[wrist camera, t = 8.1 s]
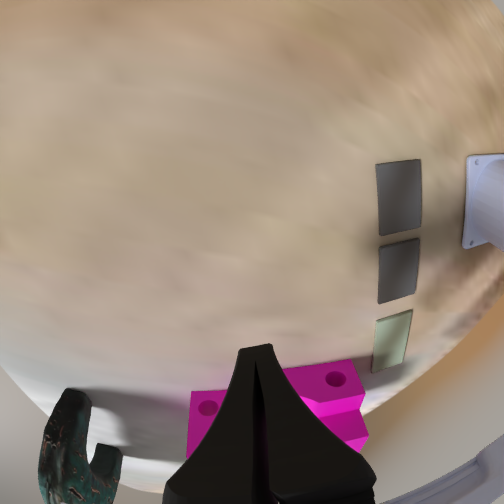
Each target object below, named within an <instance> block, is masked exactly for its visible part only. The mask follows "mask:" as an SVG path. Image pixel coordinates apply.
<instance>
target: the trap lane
mask: <svg viewBox="0 0 504 504" xmlns="http://www.w3.org/2000/svg"><path fill="white" fill-rule="evenodd" d="M375 165H376V177H377V192H378V212H379V235H380V236H384V235H389V234H393V233H397V232H402V231H406V230H410V229H414V228H419V227H420V224H421V173H420V160H418V159H415V160H406V161H398V162H390V163H382V164H375ZM419 244H420V239H419V238H415V239H411V240H407V241H403V242H399V243H395V244H390V245H386V246H382V247H379V283H378V304H382V303H386V302H389V301H392V300H395V299H399V298H402V297H405V296H408V295H411V294H414V293H415V287H416V278H417V269H418V258H419ZM411 315H412V311H411V310H408V311H405V312H402V313H399V314H396V315H393V316H390V317H387V318H383V319H380V320H377V321H376V330H375V340H374V349H373V358H372V366H371V373H374V372H377V371H380V370H383V369H386V368H389V367H392V366H395V365H397V364H400V363H402V360H403V356H404V351H405V347H406V342H407V337H408V332H409V326H410V321H411Z"/></svg>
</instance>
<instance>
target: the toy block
mask: <svg viewBox="0 0 504 504" xmlns="http://www.w3.org/2000/svg"><path fill="white" fill-rule="evenodd" d="M282 370H283V372H284V374H285V375H286V377H287V379H288V380H289V382H290V383H291V385H292V386H293V388H294V389H295V391H296V392H297V393H298V395H299V396H300V398H301V399H302V400H303V401H304V403H305V404H306V405H307V406H308V407H309V409H310V410H311V411H312V412H313V413H314V414H315V415H316V416H317V418H318V419H319V420H320V421H321V422H322V423H323V424H324V425H326V426H327V427H328V428H329V429H330V430H331V431H332V432H333V433H334V434H335V435H336V436H337V437H339V438H340V439H341V440H342V441H343V442H345V443H346V444H347V445H349V446H350V447H351V448H352V449H354V450H355V451H357V452H358V453H359V452H360V450H361V448H362V447H363V445H364V443H365V442H366V440H367V438H368V436H369V434H368V431H367V429H366V426H365V423H364V421H363V418H362V415H361V413H360V410H359V409H360V406H361V404H362V401H363V399H364V396H365V394H366V393H365V391H364V389H363V386H362V384H361V381H360V379H359V377H358V375H357V372H356V370H355V368H354V365H353V363H352V361H351V359H347V360H342V361H336V362H330V363H324V364H317V365H310V366H303V367H295V368H287V369H282ZM226 392H227V390H221V391H191V400H190V412H189V424H188V438H187V453H186V458H187V459H188V458H189V457H190V455H191V454H192V453H193V451H194V450H195V449H196V448H197V446H198V445H199V443H200V442H201V440H202V439H203V437H204V436H205V434H206V433H207V431H208V429H209V428H210V426H211V424H212V422H213V421H214V419H215V417H216V415H217V413H218V411H219V409H220V407H221V404H222V402H223V400H224V397H225V395H226Z"/></svg>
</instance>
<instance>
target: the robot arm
mask: <svg viewBox="0 0 504 504" xmlns="http://www.w3.org/2000/svg"><path fill="white" fill-rule="evenodd" d="M475 161H476V163H475ZM487 242H490V243H491V244H493V245H494V246H496V247H497V248H499V249H500V250H502V251H503V252H504V154H486V155H470V156H469V157H468V158H467V186H466V207H465V220H464V231H463V240H462V247H463V248H465V249H469V248H472V247H475V246H478V245H481V244H484V243H487ZM376 479H377V478H376V475H375V473H374V471H373V470H372V468H371V466H370V465H369V464H368V463H367V461H366V460H365V459H364V458H363V456H362V455H361V454H359V453H358V452H357V451H355V450H354V449H352V448H351V447H350V446H349V445H347V444H346V443H345V442H343V441H342V440H341V439H340V438H339V437H337V436H336V435H335V434H334V433H333V432H332V431H331V430H330V429H329V428H328V427H327V426H326V425H324V424H323V423H322V422H321V421H320V420H319V419H318V418H317V416H316V415H315V414H314V413H313V412H312V411H311V410H310V409H309V407H308V406H307V405H306V404H305V403H304V401H303V400H302V399H301V398H300V396H299V395H298V393H297V392H296V391H295V389H294V388H293V386H292V385H291V383H290V382H289V380H288V379H287V377H286V375H285V374H284V372H283V370H282V368H281V366H280V364H279V362H278V360H277V358H276V356H275V353H274V350H273V345H272V344H270V343H268V344H263V345H258V346H253V347H247V348H242V349H240V350H239V351H238V356H237V361H236V365H235V369H234V372H233V375H232V378H231V381H230V384H229V387H228V390H227V392H226V395H225V397H224V400H223V402H222V404H221V407H220V409H219V411H218V413H217V415H216V417H215V419H214V421H213V422H212V424H211V426H210V428H209V429H208V431H207V433H206V434H205V436H204V437H203V439H202V440H201V442H200V443H199V445H198V446H197V448H196V449H195V450H194V451H193V453H192V454H191V455H190V457H189V458H188V459H187V460H186V462H185V463H184V464H183V465H182V466H181V467H180V468H179V469H178V470H177V471H176V473H175V474H174V475H173V476H172V477H171V478H170V479H169V480H168V481H167V482H166V485H165V489H164V493H163V502H162V504H278V502H279V504H375V500H374V491H373V488H372V487H373V485H374V483H375V482H376ZM502 494H504V434H503V435H502V436H501V437H499V438H498V439H496V440H495V441H494V442H492V443H491V444H489V445H488V446H487V447H485V448H484V449H483V450H482V451H480V452H479V453H478V454H477V455H476V457H475V458H473V459H471V460H470V461H468V462H467V463H465V464H463V465H462V466H460V467H458V468H457V469H455V470H453V471H451V472H450V473H447V474H446V475H444V476H442V477H440V478H438V479H436V480H434V481H432V482H430V483H428V484H426V485H424V486H422V487H420V488H417V489H415V490H413V491H411V492H408V493H406V494H404V495H401V496H399V497H396V498H394V499H392V500H389V501H386V502H383V503H380V504H490V503H492V502H493V501H494V500H496V499H497V498H498V497H500V496H501V495H502ZM61 504H66V503H63V502H61Z"/></svg>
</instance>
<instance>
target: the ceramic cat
mask: <svg viewBox="0 0 504 504" xmlns="http://www.w3.org/2000/svg"><path fill="white" fill-rule="evenodd" d="M91 407H92V405H91V401H90V400H89V398H88V397H87V395H86V394H85V393H82V392H78V391H73V390H70V389H65V390H64V392H63V393H62V395H61V397H60V399H59V401H58V402H57V404H56V406H55V407H54V409H53V412H52V414H51V416H50V418H49V420H48V422H47V425H46V427H45V430H44V435H43V441H42V446H41V451H40V457H39V465H38V480H39V488H40V491H41V494H42V497H43V500H44V502H45V504H61V502H63V503H66V504H113V501H114V498H115V495H116V491H117V486H118V483H119V480H120V474H121V466H122V459H123V455H122V454H121V452H120V450H119V449H117V448H115V447H111V446H108V445H103V444H99V443H97V445H96V449H95V453H94V457H93V459H92V461H91V463H90V464H89V463H88V460H87V452H86V444H87V434H88V427H89V421H90V416H91Z"/></svg>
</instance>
